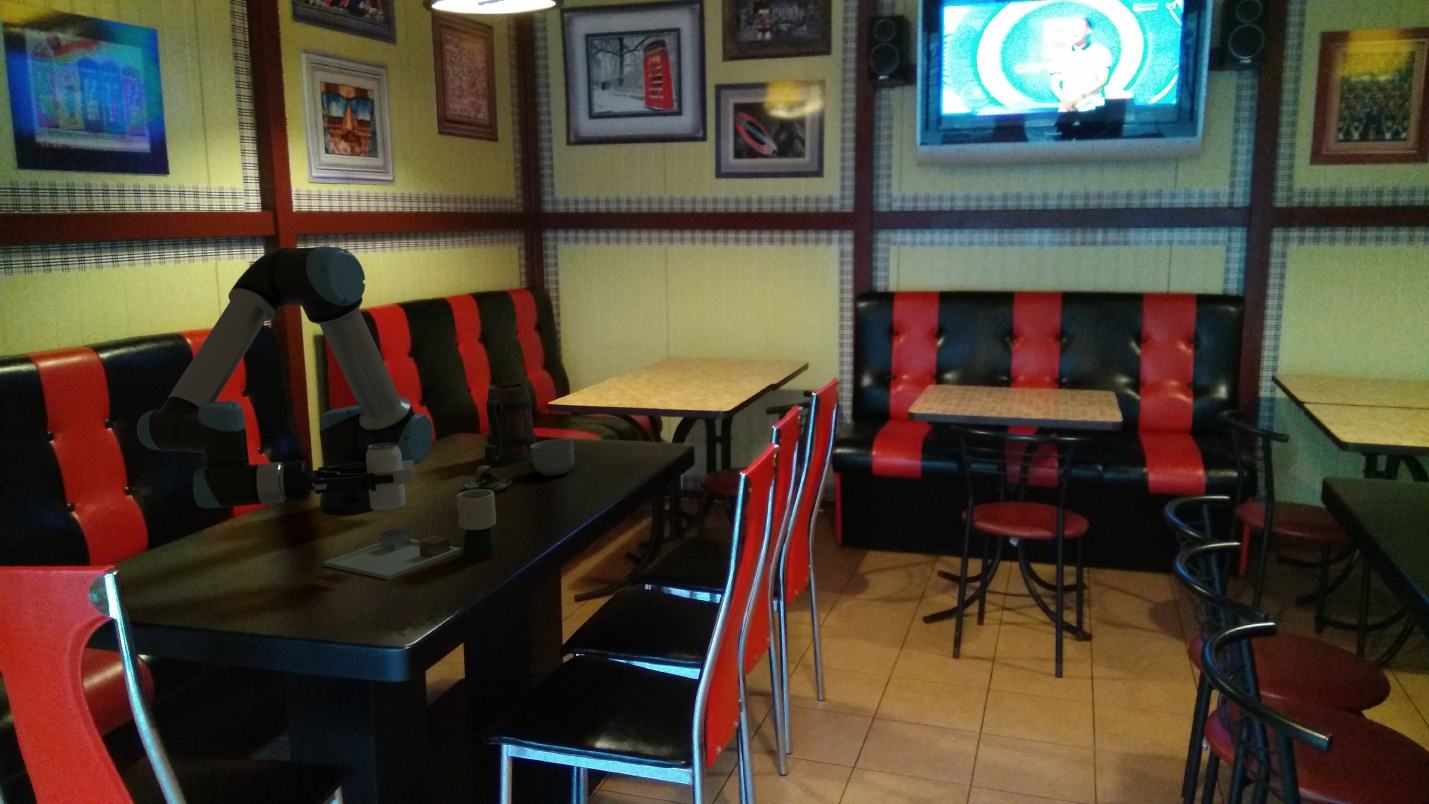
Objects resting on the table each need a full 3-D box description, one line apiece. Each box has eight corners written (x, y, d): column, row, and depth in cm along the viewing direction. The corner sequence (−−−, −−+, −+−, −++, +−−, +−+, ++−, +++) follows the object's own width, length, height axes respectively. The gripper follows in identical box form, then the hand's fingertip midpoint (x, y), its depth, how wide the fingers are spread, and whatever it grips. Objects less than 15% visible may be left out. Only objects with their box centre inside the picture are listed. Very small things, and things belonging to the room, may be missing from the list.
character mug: (476, 550, 218) (471, 486, 216) (509, 551, 217) (504, 487, 214) (449, 567, 208) (444, 500, 206) (484, 569, 206) (479, 501, 204)
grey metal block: (381, 548, 219) (380, 533, 219) (397, 542, 222) (395, 528, 222) (395, 550, 217) (393, 536, 216) (410, 545, 220) (409, 530, 220)
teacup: (556, 480, 273) (554, 448, 272) (523, 476, 279) (521, 445, 277) (591, 467, 285) (589, 437, 283) (559, 464, 290) (557, 434, 289)
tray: (324, 569, 210) (323, 561, 210) (398, 543, 225) (397, 536, 224) (388, 583, 200) (388, 575, 200) (461, 555, 215) (461, 548, 215)
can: (395, 512, 207) (390, 449, 205) (364, 511, 208) (358, 449, 206) (411, 503, 213) (406, 442, 211) (381, 502, 214) (375, 441, 212)
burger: (478, 499, 258) (475, 468, 257) (453, 491, 267) (451, 460, 266) (522, 489, 266) (520, 459, 265) (497, 481, 275) (495, 452, 274)
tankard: (496, 451, 309) (491, 380, 306) (553, 451, 306) (548, 380, 302) (460, 471, 287) (453, 395, 283) (521, 471, 283) (515, 395, 280)
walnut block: (420, 555, 213) (418, 540, 213) (435, 550, 217) (434, 535, 216) (434, 558, 211) (433, 543, 211) (450, 552, 214) (448, 538, 214)
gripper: (295, 489, 216) (417, 479, 220) (278, 515, 197) (411, 503, 202) (291, 451, 214) (414, 442, 219) (274, 474, 196) (408, 463, 200)
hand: (412, 471), depth 210 cm, fingers closed on can, 6 cm apart
